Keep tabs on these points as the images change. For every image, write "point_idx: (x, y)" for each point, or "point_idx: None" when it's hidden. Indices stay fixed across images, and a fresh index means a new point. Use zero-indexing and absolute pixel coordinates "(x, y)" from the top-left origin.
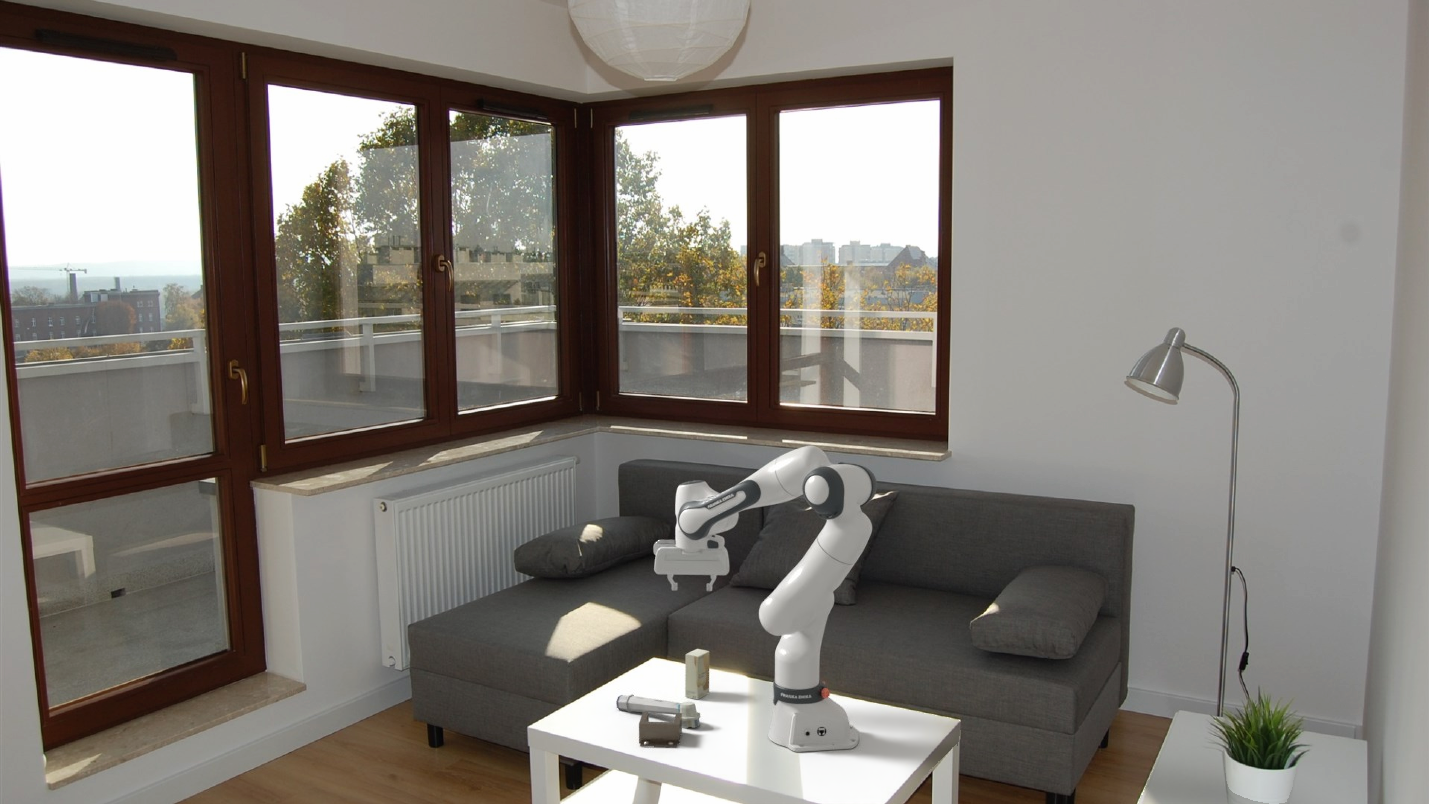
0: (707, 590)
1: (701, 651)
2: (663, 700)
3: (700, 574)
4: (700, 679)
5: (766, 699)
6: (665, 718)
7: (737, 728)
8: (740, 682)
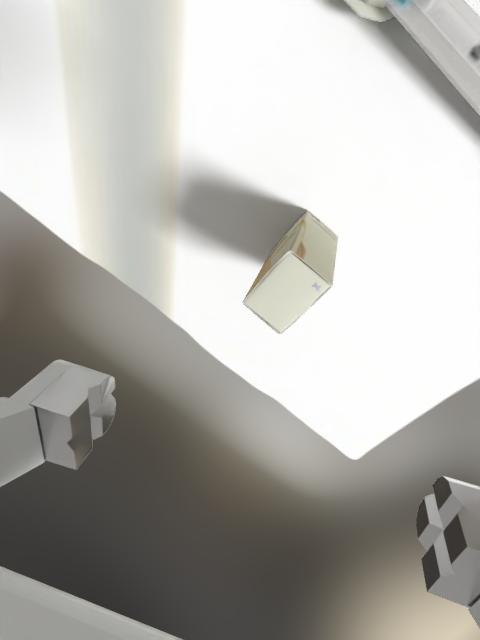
0: (100, 374)
1: (269, 302)
2: (465, 58)
3: (16, 583)
4: (291, 234)
5: (134, 188)
6: None
7: None
8: (190, 307)
